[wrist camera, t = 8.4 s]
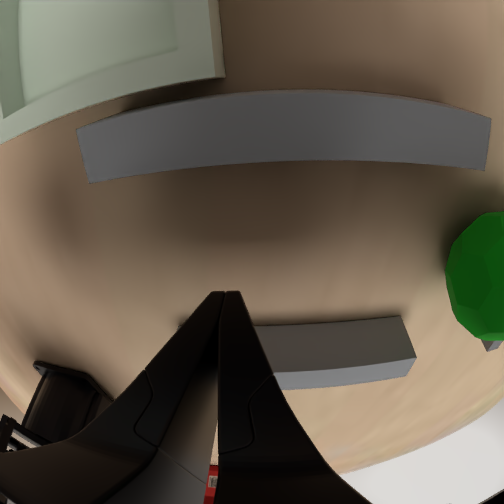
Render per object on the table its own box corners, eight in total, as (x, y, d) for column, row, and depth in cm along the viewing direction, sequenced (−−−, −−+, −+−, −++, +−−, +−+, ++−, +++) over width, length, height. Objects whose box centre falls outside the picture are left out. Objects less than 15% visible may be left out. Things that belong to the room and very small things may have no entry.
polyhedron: (481, 288, 11) (523, 358, 7) (411, 284, 11) (452, 375, 7) (521, 202, 8) (585, 263, 4) (453, 177, 8) (537, 252, 4)
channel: (188, 351, 14) (179, 392, 12) (117, 98, 7) (72, 110, 5) (484, 324, 13) (500, 354, 11) (549, 127, 6) (586, 146, 4)
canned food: (179, 463, 31) (169, 528, 22) (225, 463, 29) (219, 537, 20) (212, 475, 35) (206, 532, 26) (255, 474, 32) (252, 537, 23)
